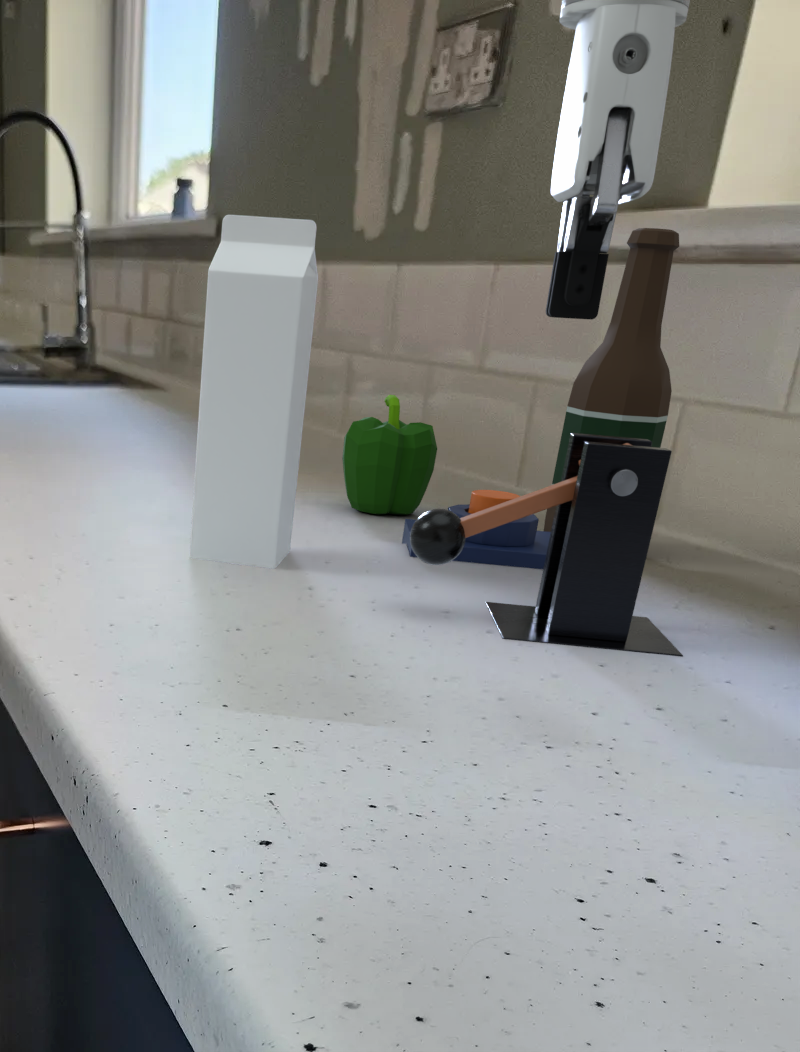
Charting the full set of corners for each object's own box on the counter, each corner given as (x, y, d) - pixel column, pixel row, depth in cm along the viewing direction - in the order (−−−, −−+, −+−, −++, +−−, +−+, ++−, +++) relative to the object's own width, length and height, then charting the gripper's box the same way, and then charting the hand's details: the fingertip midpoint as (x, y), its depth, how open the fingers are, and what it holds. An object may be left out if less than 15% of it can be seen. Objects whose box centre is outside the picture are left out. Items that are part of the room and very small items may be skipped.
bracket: (498, 657, 64) (539, 442, 59) (482, 620, 71) (517, 425, 66) (678, 675, 63) (735, 459, 58) (643, 635, 70) (691, 440, 65)
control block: (553, 560, 89) (563, 509, 87) (575, 588, 81) (587, 532, 79) (401, 546, 90) (408, 495, 88) (407, 572, 82) (416, 516, 80)
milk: (208, 557, 82) (232, 217, 73) (290, 567, 81) (325, 223, 71) (186, 575, 76) (210, 210, 67) (274, 586, 75) (310, 216, 66)
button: (513, 515, 85) (517, 492, 85) (520, 524, 82) (524, 500, 81) (465, 511, 86) (469, 488, 85) (470, 520, 82) (474, 496, 82)
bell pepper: (420, 525, 98) (438, 405, 94) (328, 513, 100) (342, 395, 96) (432, 510, 106) (450, 398, 101) (346, 499, 108) (360, 389, 104)
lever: (421, 578, 65) (404, 526, 64) (417, 566, 68) (401, 515, 67) (651, 497, 62) (637, 441, 61) (637, 488, 65) (624, 434, 63)
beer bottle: (655, 555, 94) (733, 234, 84) (593, 561, 90) (666, 225, 80) (582, 535, 100) (646, 233, 89) (521, 540, 96) (580, 224, 86)
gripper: (727, -38, 62) (655, 324, 69) (657, 22, 75) (603, 319, 83) (588, -42, 62) (531, 317, 70) (543, 18, 76) (500, 313, 84)
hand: (570, 317), depth 77 cm, fingers closed
